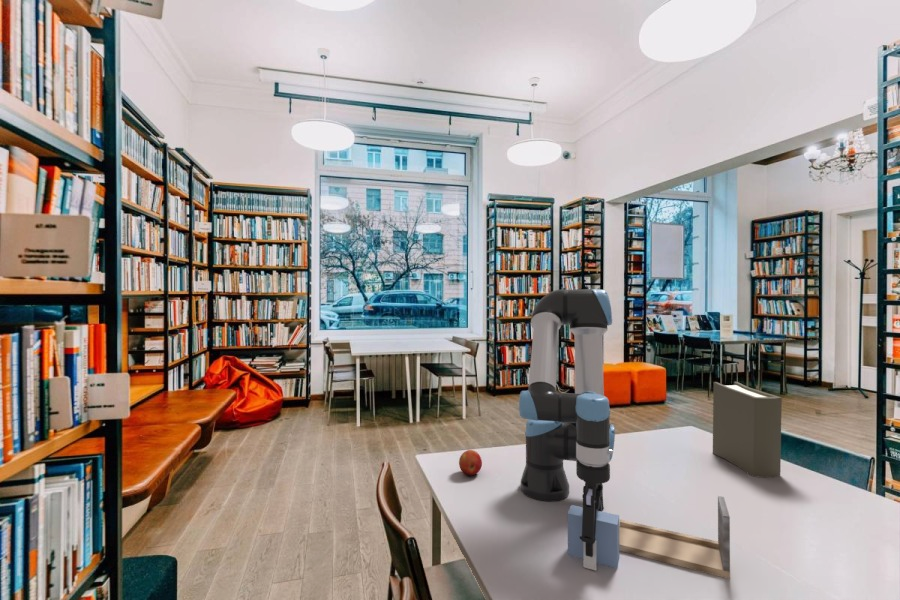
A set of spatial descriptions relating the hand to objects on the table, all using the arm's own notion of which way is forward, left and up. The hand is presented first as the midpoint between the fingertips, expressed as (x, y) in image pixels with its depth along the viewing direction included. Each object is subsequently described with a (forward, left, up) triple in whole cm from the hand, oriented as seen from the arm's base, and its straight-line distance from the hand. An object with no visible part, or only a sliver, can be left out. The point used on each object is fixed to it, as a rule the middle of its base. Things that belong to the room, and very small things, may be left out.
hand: (593, 555), depth 97 cm
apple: (-45, +28, 0) cm, 53 cm away
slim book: (0, 0, 0) cm, 0 cm away
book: (+41, +80, 0) cm, 90 cm away
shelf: (+16, +10, 0) cm, 19 cm away
